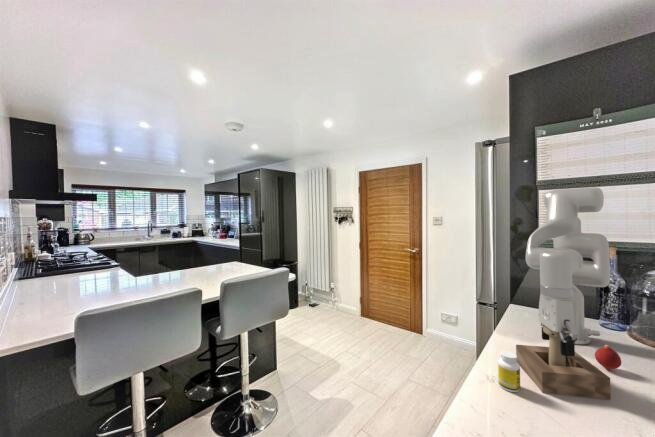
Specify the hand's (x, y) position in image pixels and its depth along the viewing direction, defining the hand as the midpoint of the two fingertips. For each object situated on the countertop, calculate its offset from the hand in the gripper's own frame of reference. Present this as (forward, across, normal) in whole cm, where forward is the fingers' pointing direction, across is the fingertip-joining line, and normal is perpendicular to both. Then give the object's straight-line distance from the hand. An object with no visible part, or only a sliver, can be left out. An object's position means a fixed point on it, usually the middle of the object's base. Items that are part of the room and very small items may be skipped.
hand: (557, 347), depth 81 cm
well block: (+10, 0, 0) cm, 10 cm away
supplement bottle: (+10, +7, -16) cm, 20 cm away
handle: (+10, 0, 0) cm, 10 cm away
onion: (+10, -8, +18) cm, 22 cm away
